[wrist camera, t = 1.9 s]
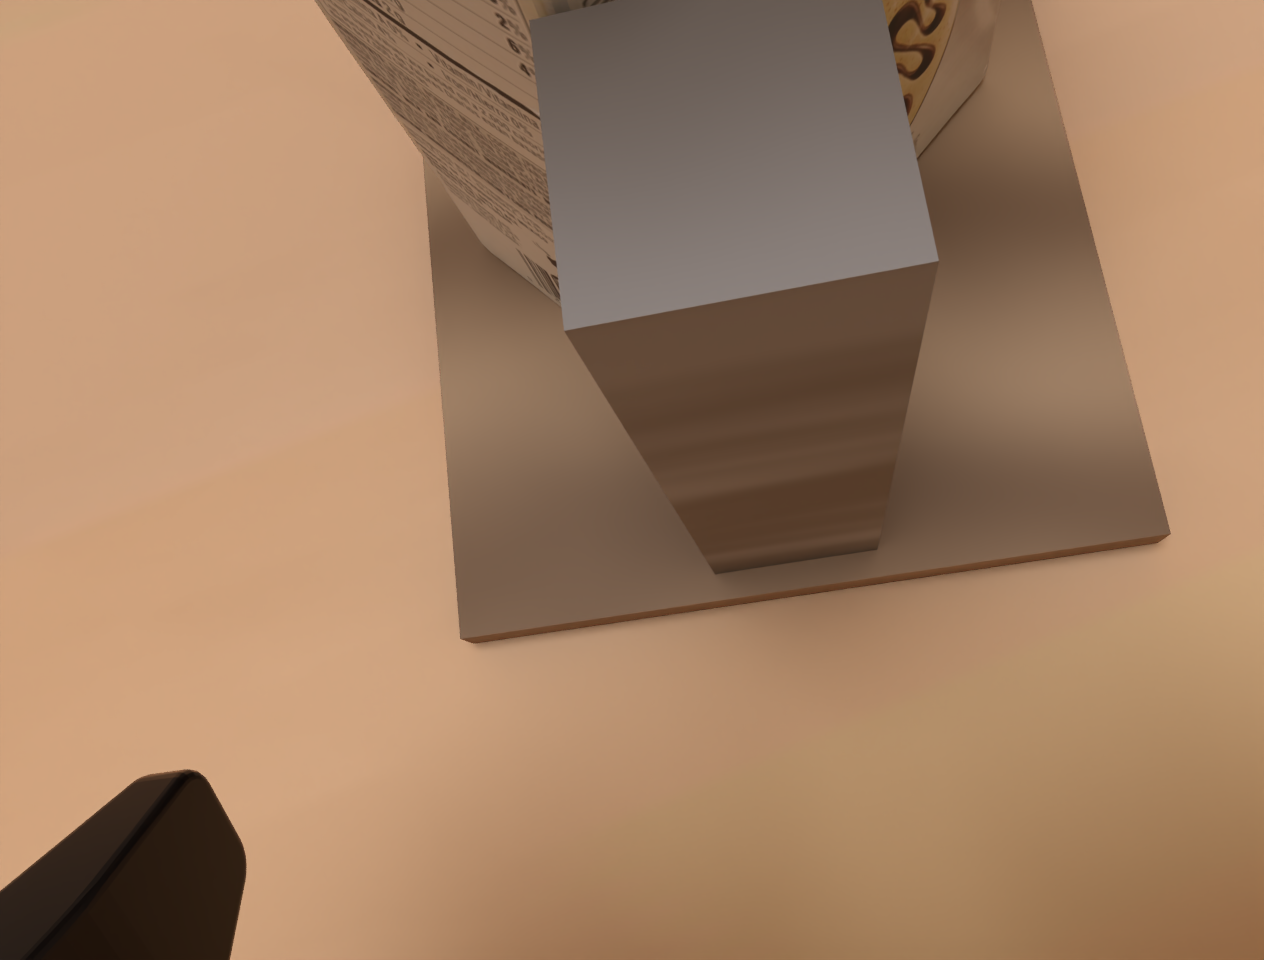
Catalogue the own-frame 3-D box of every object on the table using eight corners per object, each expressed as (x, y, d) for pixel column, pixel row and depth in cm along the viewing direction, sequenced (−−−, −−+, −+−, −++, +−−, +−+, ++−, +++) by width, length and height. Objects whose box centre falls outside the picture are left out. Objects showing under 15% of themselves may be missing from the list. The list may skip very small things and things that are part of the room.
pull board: (1157, 542, 20) (1679, 189, 8) (473, 643, 22) (8, 489, 9) (986, -123, 24) (1148, -1047, 12) (422, 8, 26) (50, -675, 13)
